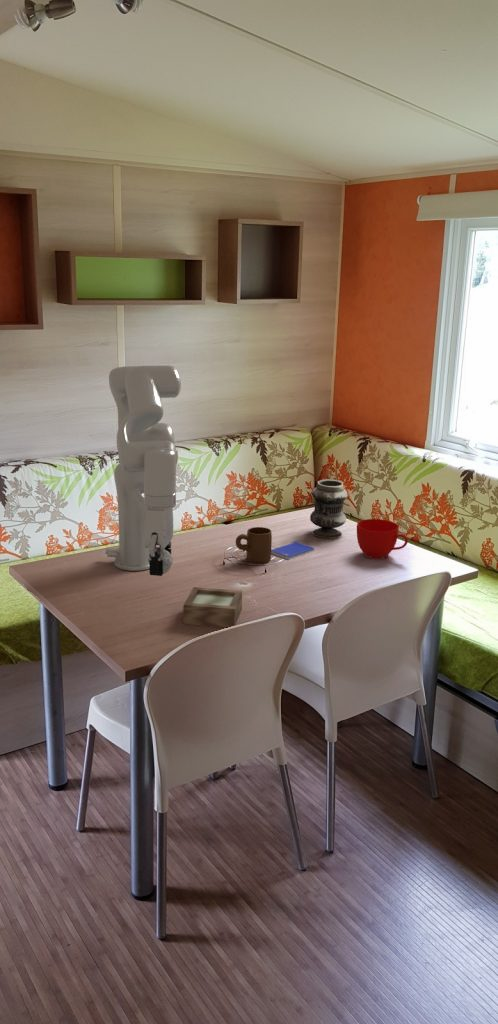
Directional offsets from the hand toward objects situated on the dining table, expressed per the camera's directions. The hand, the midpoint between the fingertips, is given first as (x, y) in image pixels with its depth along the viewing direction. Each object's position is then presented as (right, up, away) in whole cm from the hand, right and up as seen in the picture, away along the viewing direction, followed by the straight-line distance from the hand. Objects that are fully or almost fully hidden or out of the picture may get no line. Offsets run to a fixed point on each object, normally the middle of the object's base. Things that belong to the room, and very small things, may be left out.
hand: (160, 568), depth 206 cm
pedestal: (+12, -13, +11) cm, 21 cm away
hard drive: (+35, +1, +60) cm, 70 cm away
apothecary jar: (+48, +6, +78) cm, 92 cm away
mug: (+23, -1, +51) cm, 56 cm away
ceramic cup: (+63, 0, +58) cm, 85 cm away
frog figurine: (0, -1, 0) cm, 2 cm away
